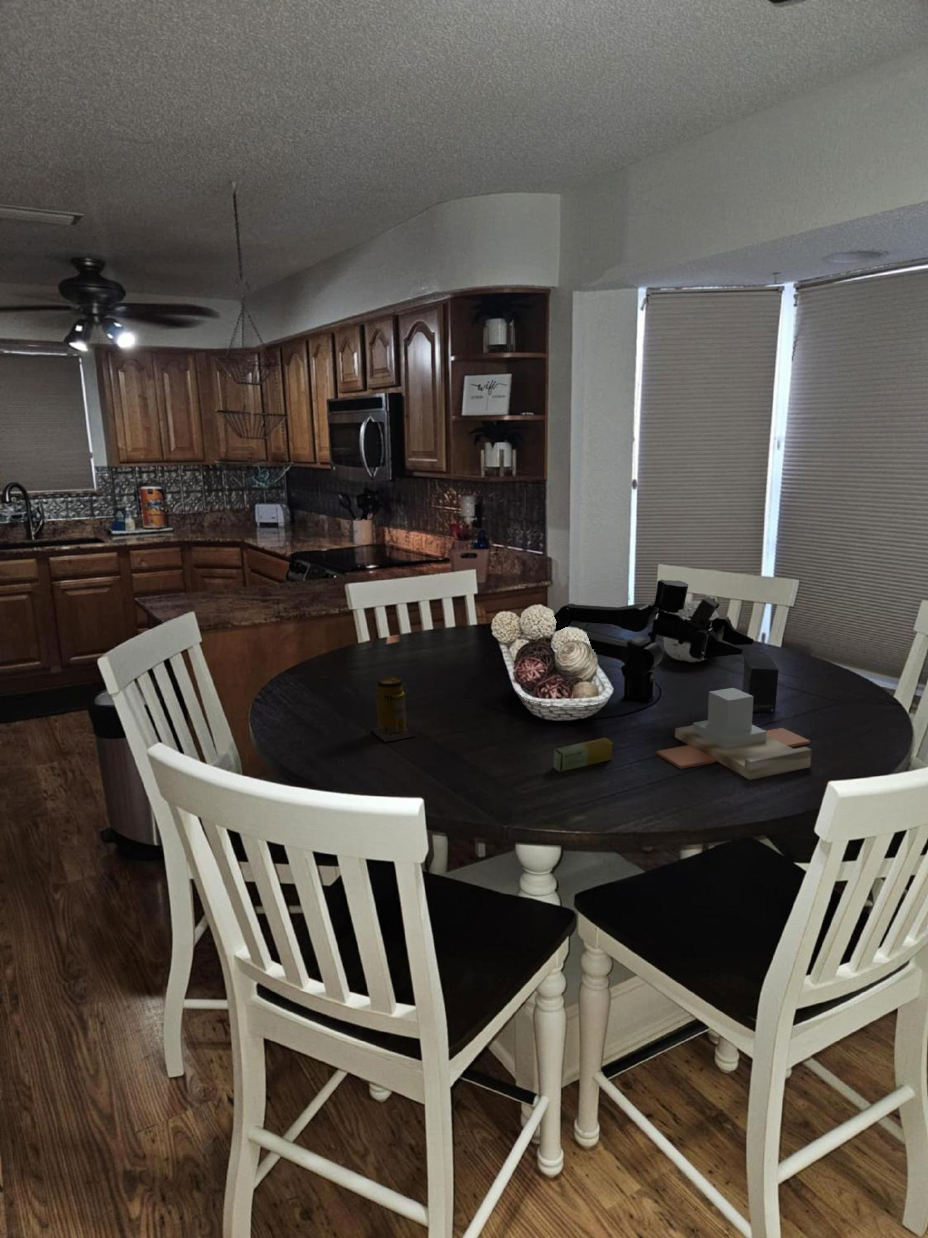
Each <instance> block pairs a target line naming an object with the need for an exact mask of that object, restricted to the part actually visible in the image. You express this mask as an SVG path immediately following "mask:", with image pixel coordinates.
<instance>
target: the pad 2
mask: <svg viewBox="0 0 928 1238" xmlns="http://www.w3.org/2000/svg"><path fill="white" fill-rule="evenodd" d="M766 731H767V735H766V736H768V737H770V738H772V739H774V740H777V741H779V742H781V743H783V744H785V745H787V746H789V747H791V748H794V747H798V746H804V745H810V744H811V740H810V739H807V738H805V737H803V736H802V735H798V733H797V734H796V733H795V732H792V731H790V730H787V729H785V728H783V727H778V728H773V729H768V730H766Z"/></svg>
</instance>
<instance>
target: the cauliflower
mask: <svg viewBox="0 0 928 1238" xmlns="http://www.w3.org/2000/svg"><path fill="white" fill-rule="evenodd" d="M699 603H701V601H700V600H692V601H691V600H690V601H689V600H688V601H685V605H684V609H682V610H679V612H678V613H672V614H676V615H680V616H684V617H688V616H690V615H693V614H694V612H695V610H696V609H697V607H698V606H699ZM668 613H670V612H668ZM719 616H720V615H719V613H718V612H717V610H715V611H714V613H713V614H712V616H711V617H710V619H712V620H714V619H715V618H717V617H719ZM711 624H712V623H711ZM710 627H711V625H710ZM662 640H663V646H664V651H665V652H666V654H667V655H669V656H670V658H673V659H674V660H677V661H682V662H683V661H685V662H688V663H696V662H698V663H699V662H701V661H702V662H703V661H704V660H706V659H704V658H702V659H701V660H698V659H695V658H692V657H691V655H690V654H689V650H690V645H691V644H688V643H684V644H678V641H677V640H674V639H670V638H666V637H663V638H662ZM702 653H703V654H704V652H702Z"/></svg>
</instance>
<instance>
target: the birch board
mask: <svg viewBox="0 0 928 1238" xmlns="http://www.w3.org/2000/svg"><path fill="white" fill-rule="evenodd" d="M674 730H675V731H674V737H675V738H676V739H677V740H679V741H681V742H683V743H684V744H686V745H692V746H694V747H695V748H697V749H699V750H701V751H702V752H704V753H706V754H708V755H710V756H711V757H713V758H715V759H716V762H718V763H720V764H721V765H723V766H725V767H726V768H729V769H730V770H732V771H733V772H735V773H737V774H739V775H741V776H742V777H744V778H746V779H748V780H749V781H750V780H755V779H759V778H765V777H769V776H773V775H780V774H783V773H787V772H793V771H798V770H802V769H807V768H811V761H812V760H811V759H812V748H810V747H809V748H808V747H807V746H803V747H798V748H794V747H789V746H787V745H785V744H783V743H781V742H779V741H777V740H774V739H772V738H770V737H768V736H766V741H763V742H758V743H753V744H748V745H742V746H737V747H732V748H727V749H724V748H722V747H720V746H718V745H716V744H714V743H713V742H711V741H709V740H707V739H705V738H703V737H701V736H700V735H698V734H696V733H694V732H693V724H691V725H686V726H680V727H675V729H674Z"/></svg>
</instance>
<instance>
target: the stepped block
mask: <svg viewBox="0 0 928 1238" xmlns="http://www.w3.org/2000/svg"><path fill="white" fill-rule="evenodd" d="M707 705H708V708H707V720H701V721H696V722H693V723H692V725H693V732H694V733H696V734H698V735H700V736H701V737H703V738H705V739H707V740H709V741H711V742H713V743H714V744H716V745H718V746H720V747H722V748H724V749H727V748H732V747H737V746H742V745H748V744H753V743H758V742H763V741H766V735H767V730H764V729H762V728H760V727H758V726H756V725H754V724H753V713H754V712H753V696H752V695H749V694H747V693H745V692H742V690H740V689H737V688H735V687H731V688H730V687H729V688H725V689H724V688H723V689H718V690H711V691H708V704H707Z"/></svg>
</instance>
